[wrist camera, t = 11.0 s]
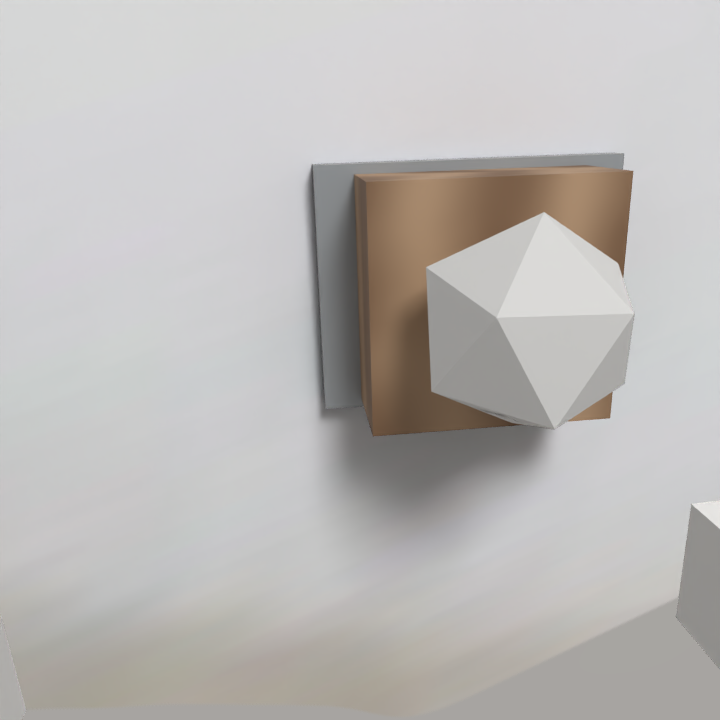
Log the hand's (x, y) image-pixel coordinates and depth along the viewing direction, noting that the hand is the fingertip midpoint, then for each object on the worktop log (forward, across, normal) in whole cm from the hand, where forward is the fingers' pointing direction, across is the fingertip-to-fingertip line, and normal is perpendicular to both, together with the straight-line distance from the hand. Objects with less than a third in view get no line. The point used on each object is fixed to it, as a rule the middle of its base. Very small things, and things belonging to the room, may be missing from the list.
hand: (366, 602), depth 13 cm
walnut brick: (+24, +9, 0) cm, 26 cm away
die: (+19, +9, 0) cm, 21 cm away
